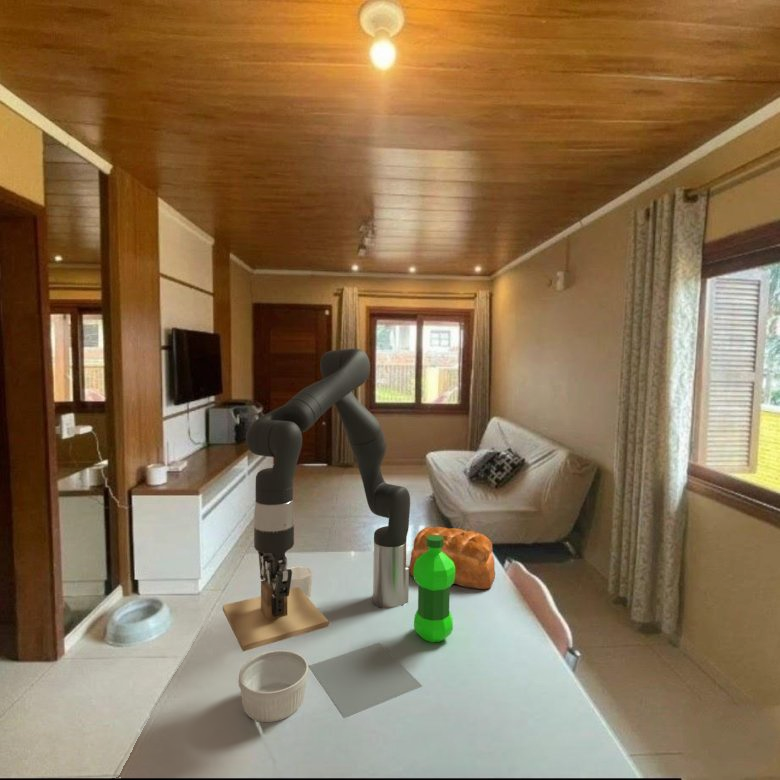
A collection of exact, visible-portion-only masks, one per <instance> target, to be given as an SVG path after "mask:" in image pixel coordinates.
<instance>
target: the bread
mask: <svg viewBox="0 0 780 780" xmlns="http://www.w3.org/2000/svg"><path fill="white" fill-rule="evenodd" d="M429 535H440V536H442V537H443V547H441V551H442V552H443V553H444V554H445V555H447V556H448V557H449V558H450V559H451V560H452V561H453V562H454V565H455V580H454V583H453V584H452V585H458V586H461V587H465V588H470V589H477V590H478V589H479V590H480V589H481V590H486V589H490V588H492V585H493V583H494V581H495V579H496V570H495V568H496V567H495V563H496V562H495V557H494V555H493V542H492V541H491V540H490V539H489V538H488V537H487V536H486V535H485V534H483V533H480V532H478V531H475V530H463V529H461V528H455V527H452V528H448V527H442V526H436V527H432V526H427V527H424V528H422V529H420V531H419V532H418V533H417V534H416V535H415V538H414V540H413V547H412V550H411V555H410V561H409V567H408V568H409V575H410V576H412V577H413V578H414V575H413V573H414V564H415V562H416V559H418V558H419V557H420V556H421V555H422V554H424V553H425V552H427V551H428V548H429V547H428V546H426V541H427V536H429Z"/></svg>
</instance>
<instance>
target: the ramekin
mask: <svg viewBox="0 0 780 780" xmlns="http://www.w3.org/2000/svg"><path fill="white" fill-rule="evenodd" d="M308 675H309V664H308V662H307V660H306V658H304V657H303V656H302V655H301V654H299V653H297V652H294V651H290V650H271V651H266V652H262V653H259V654H258V655H256V656H254V657H252V658H250V659H249V660H247V662H246V663H244V664H243V666H242V667H241V669H240V671H239V674H238V687H239V689H240V695H241V696H240V697H241V703H242V708H243V710H244V712H245V713H246V715H247V717H249V718H251V720H253V721H255V722H258V723H259V722H263V723H272V722H278V721H281V720H284V719H286V718H288V717H290V716H292V715H294V714H295V712H297V711H298V709H300V707H301V705H302V704H303V701H304V698H305V694H306V693H305V692H306V686H307V685H306V684H307V679H308Z"/></svg>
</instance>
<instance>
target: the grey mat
mask: <svg viewBox="0 0 780 780" xmlns="http://www.w3.org/2000/svg"><path fill="white" fill-rule="evenodd" d="M308 669H309V670H311V672H312V674H313V675H314V676H315V678H316V679H317V680H318V683H319V684H320V685H321V687H322V688H323V689H324V691H325V693H326V694H327V696H328V697H329V699H330V700H331V702H332V703H333V705H334V706H335V707H336V709H337V710H338V712H339V713H340V714H341V716H342V718H344V719H345V718H348V717H351V716H353V715H355V714H357V713H360V712H362V711H365V710H368V709H370V708H373V707H375V706H378V705H380V704H383V703H385V702H387V701H389V700H392V699H394V698H397V697H399V696H402V695H404V694H407V693H409V692H411V691H413V690H416V689H419V688H421V687H423V685H422V684H421V683H420V682H419V681H418V680H417V679H416V678H415V677H414V676H413V675H412V674H411V673H410V672H409V671H408V669H406V667H404V666H403V665H402V663H400V662H399V660H397V659H396V657H394V656H393V655H392V654H391V652H390V651H389V650H388V649H387V648H385V647H384V645H383V644H382V643H381V642H377V643H372V644H371V645H367V646H365V647H361V648H359V649H355V650H352V651H349V652H346V653H343V654H339V655H337V656H334V657H331V658H327V659H325V660H322V661H318V662H316V663H312V664H310V665H309V664H308Z"/></svg>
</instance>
